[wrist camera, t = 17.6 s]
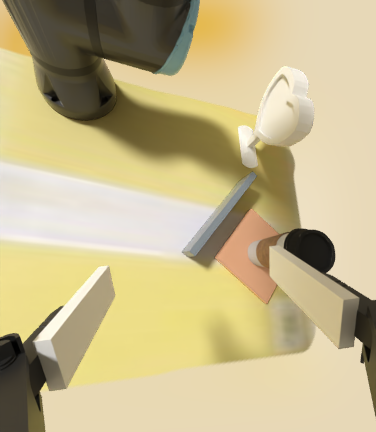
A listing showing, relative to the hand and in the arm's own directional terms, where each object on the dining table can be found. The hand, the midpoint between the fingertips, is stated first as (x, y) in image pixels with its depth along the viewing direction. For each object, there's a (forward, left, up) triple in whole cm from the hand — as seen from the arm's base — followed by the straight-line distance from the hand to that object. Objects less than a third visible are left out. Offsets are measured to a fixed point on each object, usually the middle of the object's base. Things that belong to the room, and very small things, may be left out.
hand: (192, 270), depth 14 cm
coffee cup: (+4, +23, -23) cm, 33 cm away
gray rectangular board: (-7, +16, -24) cm, 30 cm away
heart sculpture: (-24, +31, -24) cm, 47 cm away
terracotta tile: (+5, +24, -24) cm, 34 cm away
